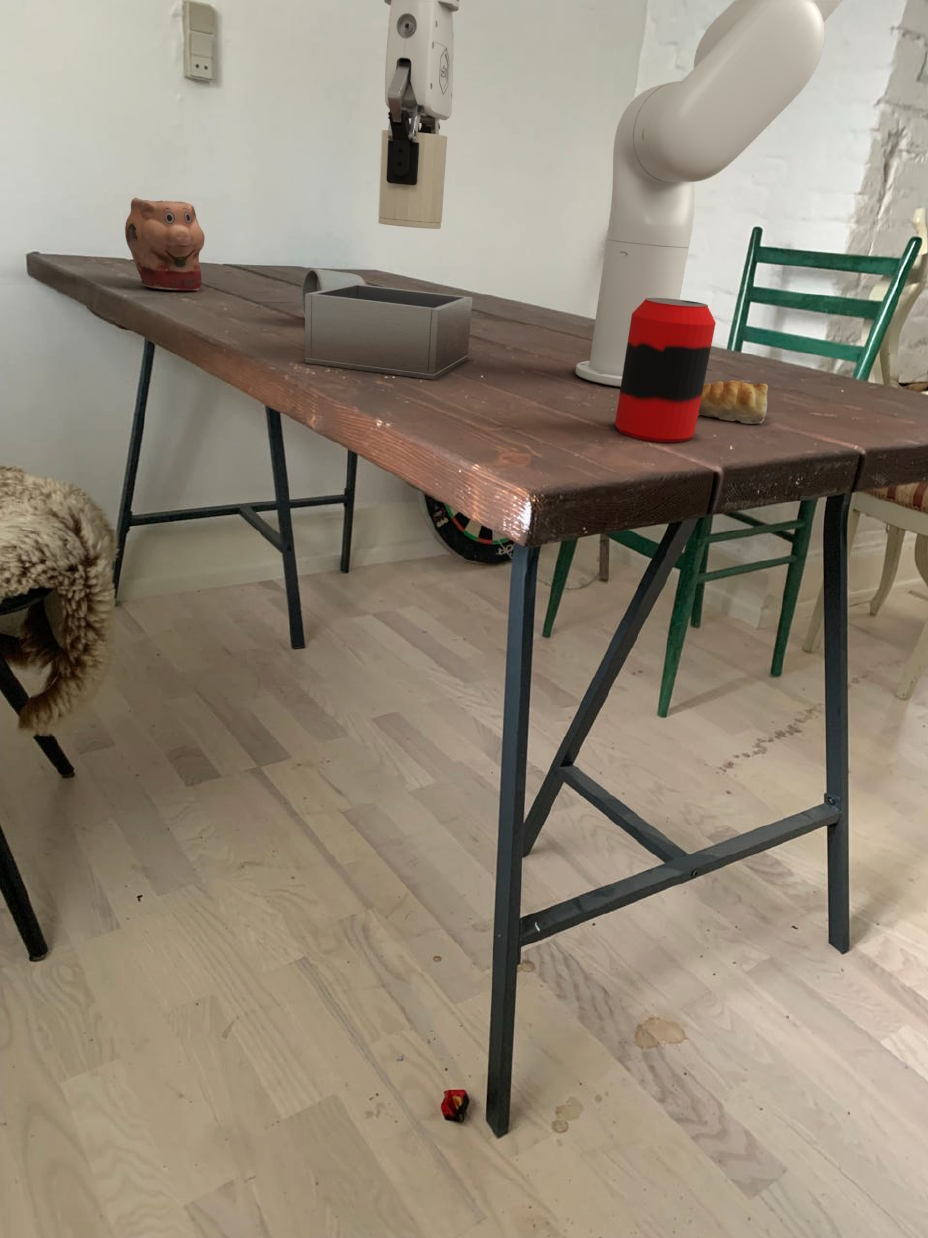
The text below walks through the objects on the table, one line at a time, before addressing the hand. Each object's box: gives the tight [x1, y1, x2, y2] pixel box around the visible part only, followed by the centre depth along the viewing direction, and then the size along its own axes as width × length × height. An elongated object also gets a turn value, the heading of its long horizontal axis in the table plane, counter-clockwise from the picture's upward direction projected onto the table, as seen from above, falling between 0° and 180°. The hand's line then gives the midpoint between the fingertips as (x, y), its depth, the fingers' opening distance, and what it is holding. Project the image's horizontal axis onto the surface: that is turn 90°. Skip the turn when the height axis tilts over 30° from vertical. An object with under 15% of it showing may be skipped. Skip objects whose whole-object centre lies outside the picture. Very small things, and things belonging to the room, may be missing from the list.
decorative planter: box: [124, 197, 206, 291], centre depth 153 cm, size 20×12×14 cm, turn 40°
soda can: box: [614, 298, 717, 444], centre depth 85 cm, size 8×8×12 cm
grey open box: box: [304, 284, 473, 381], centre depth 108 cm, size 16×16×8 cm
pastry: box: [698, 379, 769, 425], centre depth 97 cm, size 9×7×4 cm
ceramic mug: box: [300, 268, 368, 318], centre depth 132 cm, size 11×8×8 cm
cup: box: [377, 129, 448, 230], centre depth 98 cm, size 7×7×9 cm
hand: (412, 183), depth 98 cm, fingers closed on cup, 7 cm apart
